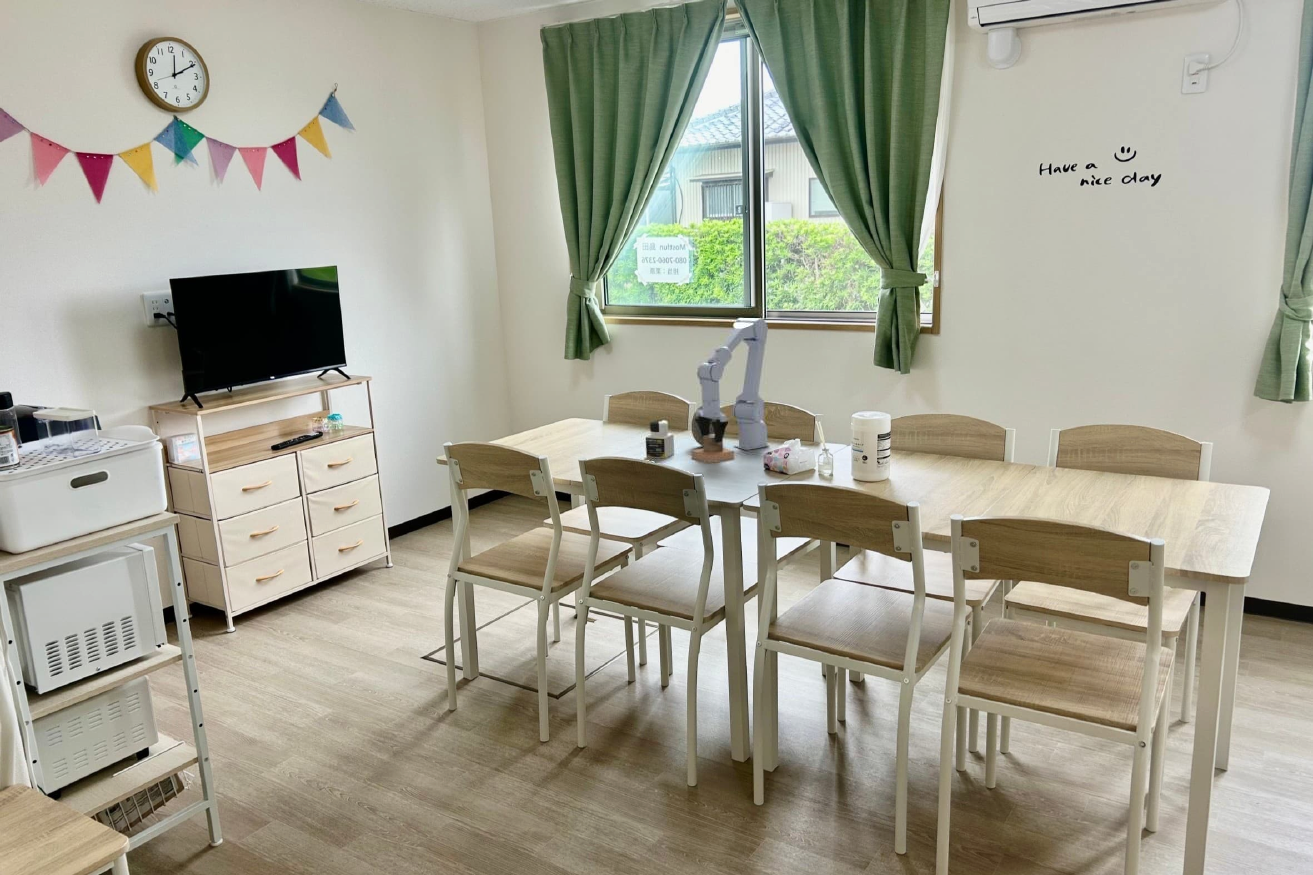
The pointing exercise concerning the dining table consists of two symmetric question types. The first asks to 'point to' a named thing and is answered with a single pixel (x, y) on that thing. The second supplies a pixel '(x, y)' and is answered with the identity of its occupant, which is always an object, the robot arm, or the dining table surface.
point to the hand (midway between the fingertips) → (712, 440)
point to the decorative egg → (696, 429)
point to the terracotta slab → (712, 455)
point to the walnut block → (711, 444)
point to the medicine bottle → (659, 440)
